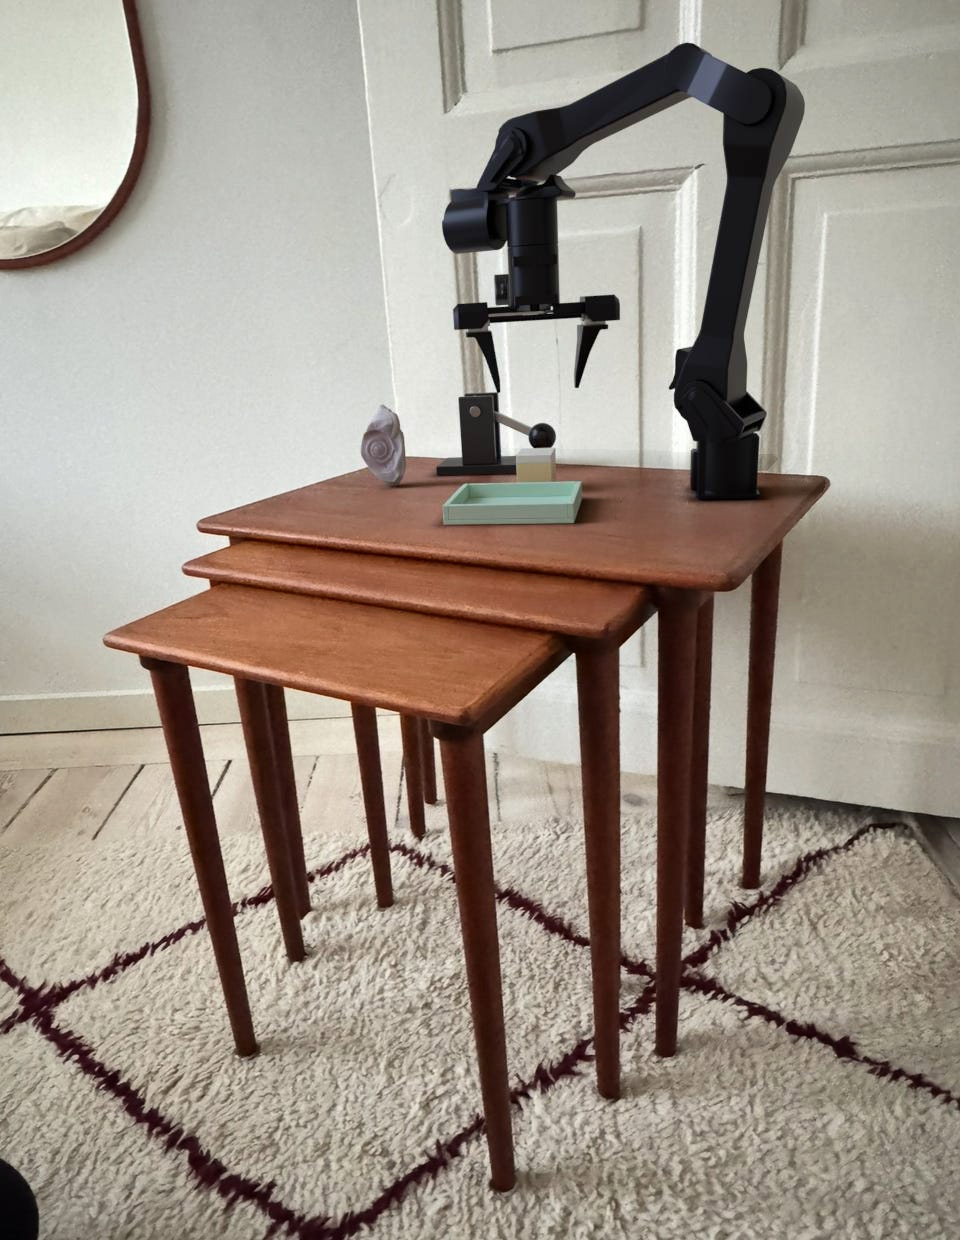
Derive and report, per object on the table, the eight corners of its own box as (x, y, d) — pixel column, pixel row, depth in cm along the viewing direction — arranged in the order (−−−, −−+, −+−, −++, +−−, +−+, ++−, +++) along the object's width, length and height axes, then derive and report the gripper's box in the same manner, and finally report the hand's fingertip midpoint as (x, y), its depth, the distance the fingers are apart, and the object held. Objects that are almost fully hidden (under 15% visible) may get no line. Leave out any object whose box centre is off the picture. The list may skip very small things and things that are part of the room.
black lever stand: (526, 464, 121) (524, 390, 118) (519, 473, 115) (516, 395, 111) (448, 466, 123) (443, 393, 120) (436, 475, 117) (431, 399, 113)
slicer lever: (550, 453, 118) (561, 427, 117) (547, 457, 115) (559, 431, 113) (467, 415, 118) (477, 390, 117) (461, 419, 115) (472, 392, 114)
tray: (582, 499, 98) (581, 481, 97) (573, 523, 88) (573, 503, 87) (464, 501, 101) (463, 483, 100) (443, 524, 90) (442, 505, 90)
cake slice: (556, 485, 106) (555, 447, 105) (552, 494, 101) (551, 454, 100) (523, 486, 107) (521, 448, 105) (517, 494, 102) (515, 455, 101)
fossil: (361, 488, 111) (353, 407, 108) (374, 483, 114) (367, 403, 111) (403, 489, 109) (395, 406, 105) (415, 484, 112) (409, 402, 108)
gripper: (605, 246, 107) (606, 380, 112) (450, 255, 107) (458, 388, 112) (620, 240, 97) (621, 387, 102) (449, 250, 97) (458, 397, 102)
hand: (537, 390), depth 105 cm, fingers open, 9 cm apart
